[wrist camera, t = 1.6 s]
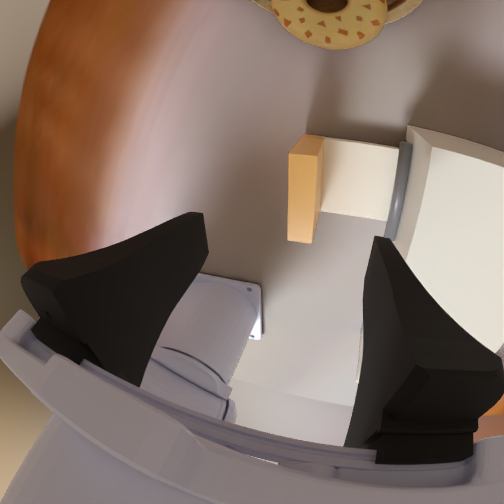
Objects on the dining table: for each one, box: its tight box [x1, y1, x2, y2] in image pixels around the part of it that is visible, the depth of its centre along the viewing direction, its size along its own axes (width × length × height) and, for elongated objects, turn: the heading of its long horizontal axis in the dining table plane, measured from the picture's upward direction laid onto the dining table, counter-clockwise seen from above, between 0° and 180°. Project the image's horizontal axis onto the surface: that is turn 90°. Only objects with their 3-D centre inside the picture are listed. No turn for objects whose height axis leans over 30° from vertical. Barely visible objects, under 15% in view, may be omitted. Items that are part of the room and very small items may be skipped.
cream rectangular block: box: [356, 125, 504, 383], centre depth 16 cm, size 12×19×6 cm, turn 2°
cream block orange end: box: [287, 134, 399, 244], centre depth 14 cm, size 15×5×5 cm, turn 92°
